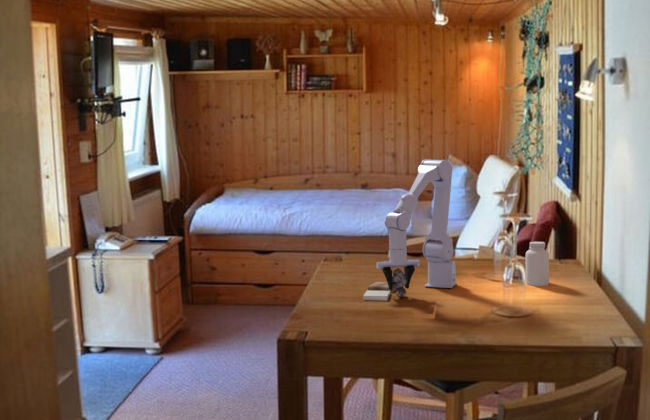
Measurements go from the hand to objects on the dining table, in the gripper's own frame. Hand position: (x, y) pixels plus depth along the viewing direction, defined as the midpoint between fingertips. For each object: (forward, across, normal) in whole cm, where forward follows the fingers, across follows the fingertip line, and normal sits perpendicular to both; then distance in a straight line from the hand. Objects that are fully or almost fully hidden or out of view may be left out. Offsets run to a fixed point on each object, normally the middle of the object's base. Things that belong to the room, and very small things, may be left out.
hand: (398, 288), depth 265 cm
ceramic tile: (+3, +7, -2) cm, 8 cm away
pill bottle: (+3, -51, -3) cm, 52 cm away
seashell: (+3, 0, 0) cm, 3 cm away
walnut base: (+3, +2, -12) cm, 12 cm away
